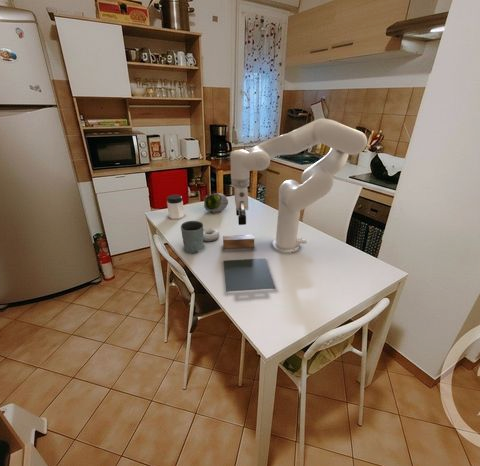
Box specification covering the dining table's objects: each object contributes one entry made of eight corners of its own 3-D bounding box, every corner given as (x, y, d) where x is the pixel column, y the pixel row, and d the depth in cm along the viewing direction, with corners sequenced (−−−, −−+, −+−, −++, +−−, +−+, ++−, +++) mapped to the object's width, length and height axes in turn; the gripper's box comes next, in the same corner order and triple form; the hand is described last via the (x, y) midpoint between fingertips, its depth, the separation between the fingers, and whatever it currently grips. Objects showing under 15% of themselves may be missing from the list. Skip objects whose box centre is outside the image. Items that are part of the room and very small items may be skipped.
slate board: (265, 260, 113) (265, 258, 113) (275, 290, 96) (275, 288, 95) (223, 262, 112) (223, 260, 111) (226, 294, 94) (226, 291, 94)
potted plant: (232, 205, 161) (220, 206, 148) (217, 215, 167) (204, 218, 154) (223, 188, 162) (210, 188, 149) (208, 199, 168) (195, 200, 155)
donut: (197, 234, 134) (200, 243, 126) (197, 228, 133) (200, 237, 124) (217, 232, 137) (221, 241, 128) (216, 226, 135) (220, 234, 127)
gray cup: (192, 241, 128) (190, 218, 122) (209, 246, 123) (208, 223, 118) (178, 250, 120) (175, 226, 115) (195, 256, 116) (193, 232, 110)
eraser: (252, 245, 125) (253, 234, 122) (253, 250, 121) (254, 238, 118) (223, 247, 123) (222, 235, 120) (223, 251, 120) (223, 240, 117)
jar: (176, 212, 159) (173, 193, 154) (186, 214, 156) (185, 195, 150) (165, 217, 152) (163, 198, 147) (176, 220, 149) (174, 200, 143)
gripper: (252, 187, 100) (252, 227, 108) (246, 175, 115) (246, 211, 123) (232, 188, 99) (234, 229, 107) (229, 176, 115) (231, 212, 123)
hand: (241, 219), depth 115 cm, fingers open, 9 cm apart
